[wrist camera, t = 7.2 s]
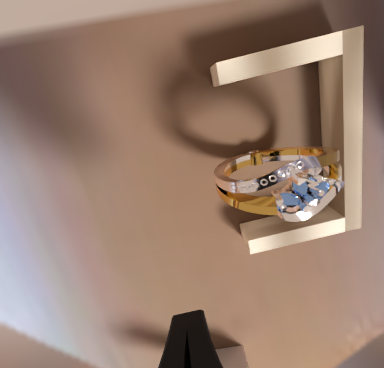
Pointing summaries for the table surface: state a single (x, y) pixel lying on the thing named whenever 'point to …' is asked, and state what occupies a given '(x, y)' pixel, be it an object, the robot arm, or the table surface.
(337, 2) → the table surface
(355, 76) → the keeper
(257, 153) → the ring
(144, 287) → the table surface
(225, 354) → the lighter
